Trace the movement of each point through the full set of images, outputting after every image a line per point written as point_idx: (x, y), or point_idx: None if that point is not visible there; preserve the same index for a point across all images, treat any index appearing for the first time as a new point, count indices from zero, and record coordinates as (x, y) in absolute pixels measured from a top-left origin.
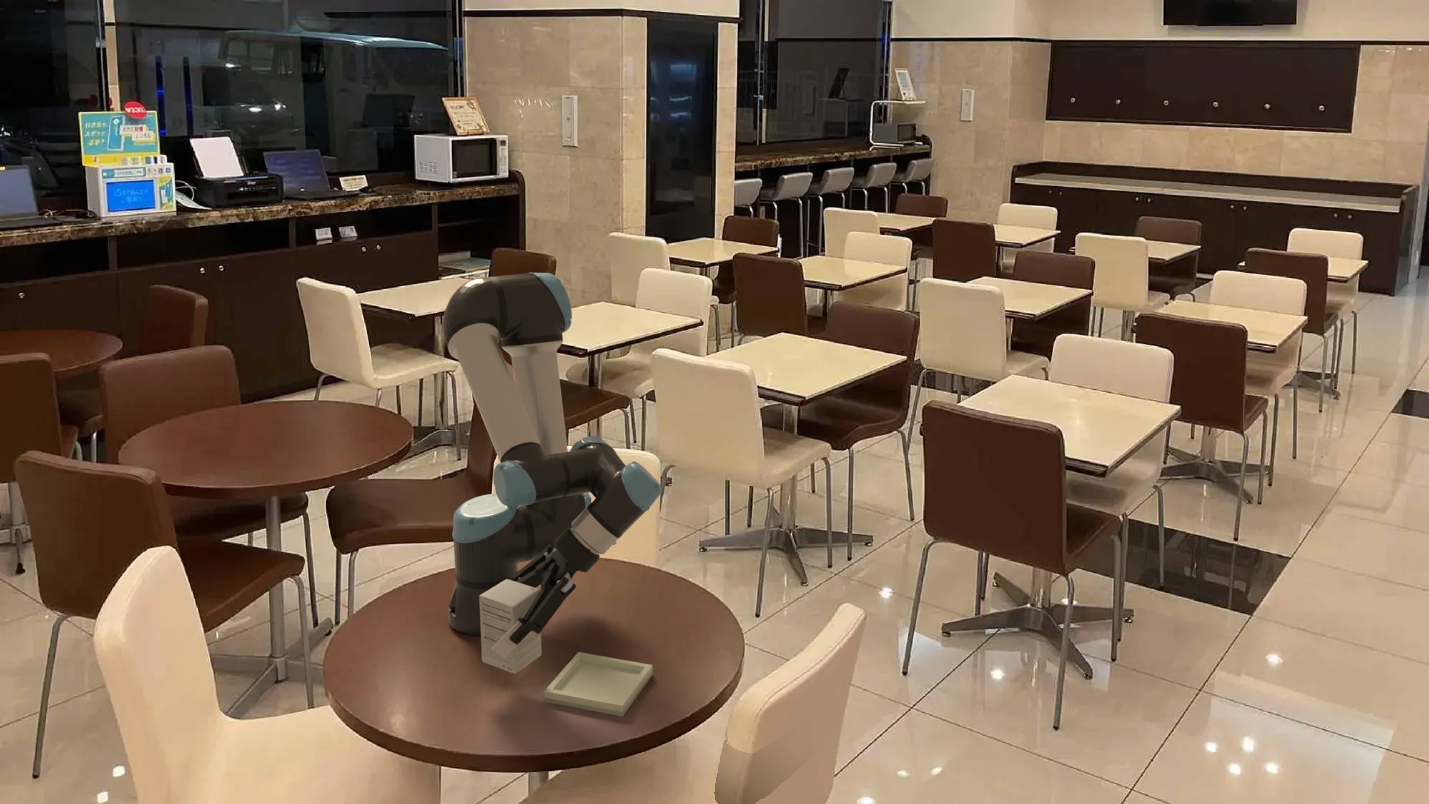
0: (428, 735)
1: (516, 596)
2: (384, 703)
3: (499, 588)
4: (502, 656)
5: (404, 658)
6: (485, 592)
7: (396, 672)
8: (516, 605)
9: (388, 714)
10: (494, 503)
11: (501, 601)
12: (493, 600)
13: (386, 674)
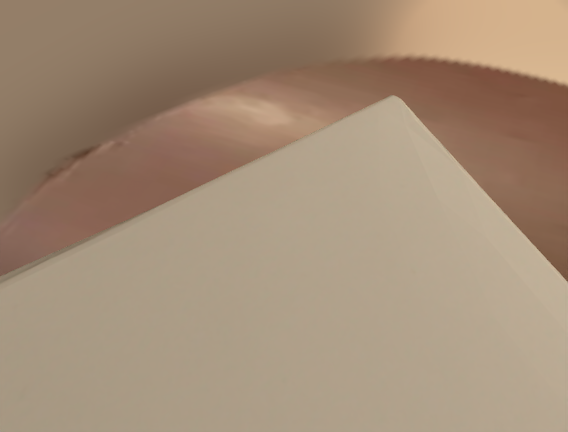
0: (163, 144)
1: None
2: (346, 109)
3: (504, 356)
4: None
5: (544, 199)
6: (446, 166)
7: (477, 165)
8: None
9: (296, 104)
10: None
11: (117, 253)
12: (213, 182)
13: (474, 145)
